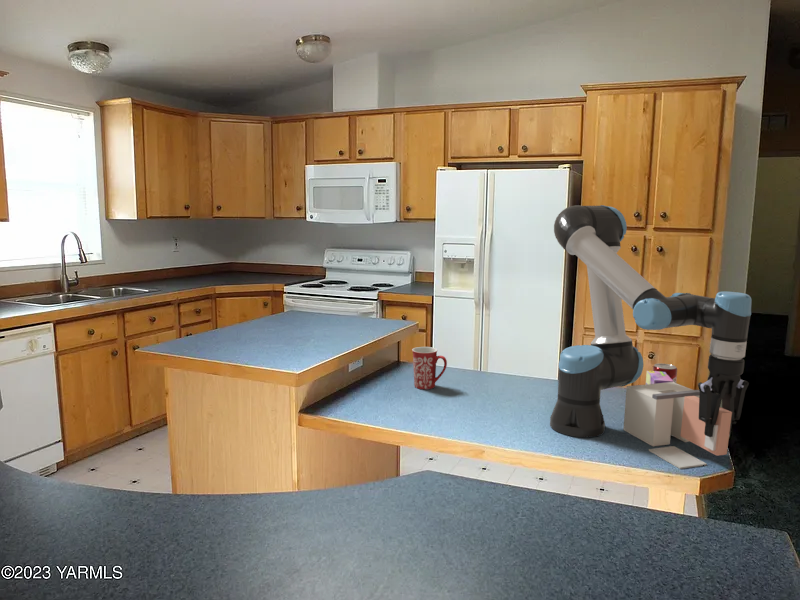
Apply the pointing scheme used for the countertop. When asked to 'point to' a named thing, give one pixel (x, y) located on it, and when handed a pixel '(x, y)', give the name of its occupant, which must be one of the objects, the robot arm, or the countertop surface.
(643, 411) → the dispenser
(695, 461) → the mat
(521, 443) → the countertop surface
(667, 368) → the soda can
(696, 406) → the salmon pink slab
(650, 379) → the box
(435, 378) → the mug
